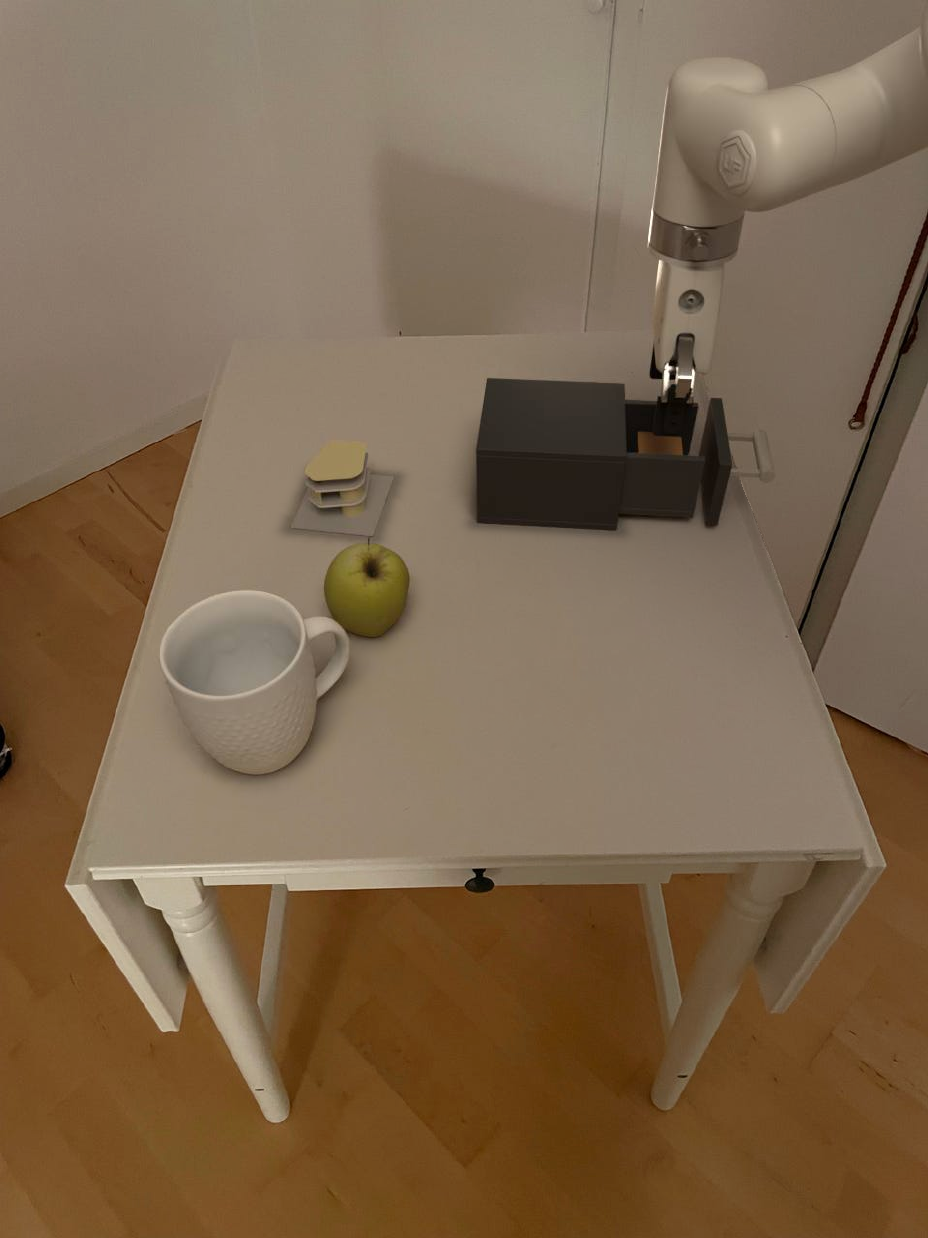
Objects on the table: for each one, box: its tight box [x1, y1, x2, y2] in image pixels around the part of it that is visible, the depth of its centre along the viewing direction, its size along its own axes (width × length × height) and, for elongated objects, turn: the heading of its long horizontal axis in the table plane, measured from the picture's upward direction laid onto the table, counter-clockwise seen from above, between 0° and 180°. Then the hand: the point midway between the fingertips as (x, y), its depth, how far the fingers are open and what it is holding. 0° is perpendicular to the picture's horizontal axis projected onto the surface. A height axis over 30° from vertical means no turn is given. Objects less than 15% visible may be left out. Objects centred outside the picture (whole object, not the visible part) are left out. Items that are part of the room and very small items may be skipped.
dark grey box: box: [475, 377, 627, 531], centre depth 96 cm, size 15×13×10 cm
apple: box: [323, 537, 411, 638], centre depth 84 cm, size 8×8×10 cm
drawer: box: [619, 397, 776, 526], centre depth 95 cm, size 18×11×8 cm, turn 84°
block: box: [635, 432, 683, 455], centre depth 96 cm, size 4×4×4 cm
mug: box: [158, 589, 351, 775], centre depth 74 cm, size 15×11×13 cm
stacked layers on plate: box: [290, 439, 395, 537], centre depth 97 cm, size 10×9×6 cm
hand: (667, 405), depth 89 cm, fingers open, 9 cm apart
